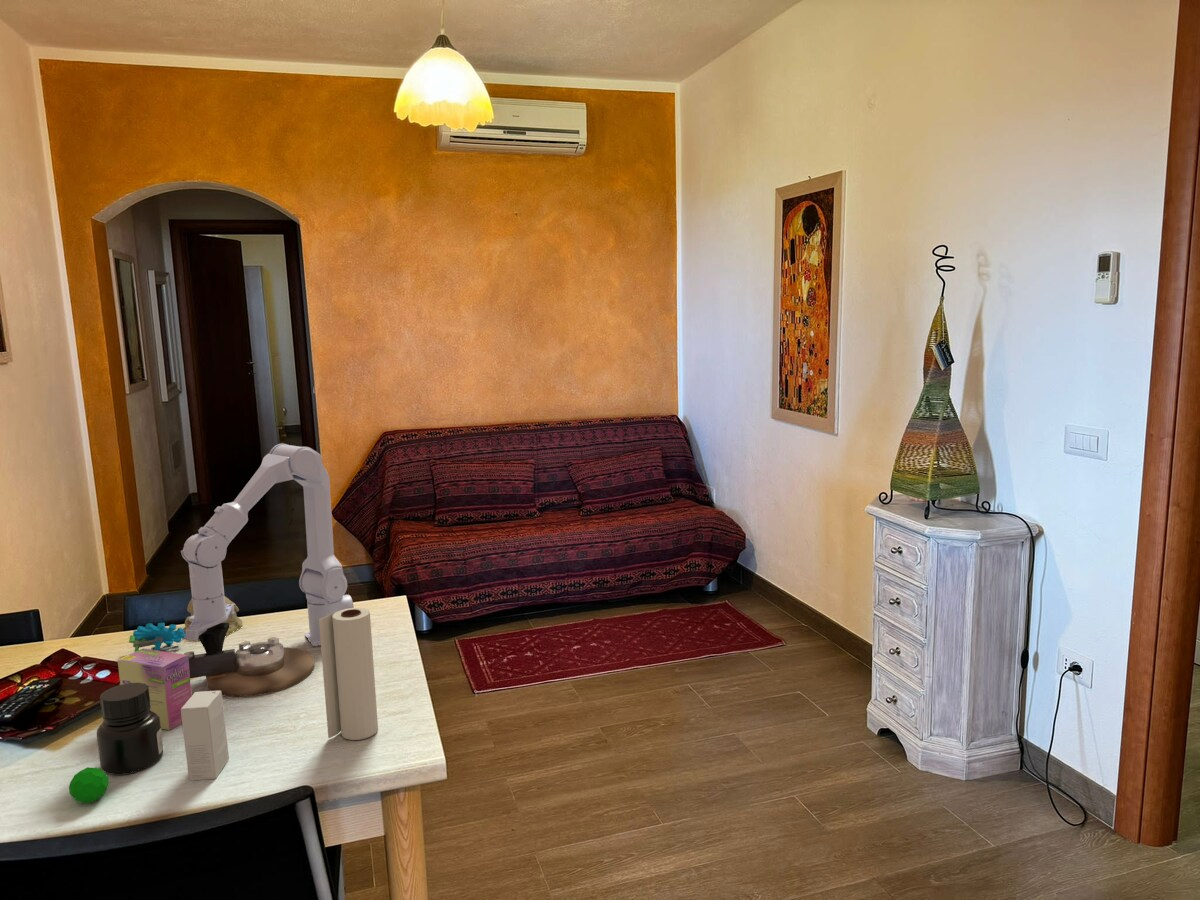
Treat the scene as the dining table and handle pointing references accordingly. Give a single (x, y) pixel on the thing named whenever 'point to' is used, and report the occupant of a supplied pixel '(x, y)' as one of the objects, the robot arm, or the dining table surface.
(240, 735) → the dining table surface
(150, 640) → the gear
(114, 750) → the ink bottle
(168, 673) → the box
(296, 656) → the nut base plate
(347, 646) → the paper towel roll
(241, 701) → the dining table surface
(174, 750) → the dining table surface
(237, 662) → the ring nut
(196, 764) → the skincare box
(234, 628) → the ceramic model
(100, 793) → the polyhedron
